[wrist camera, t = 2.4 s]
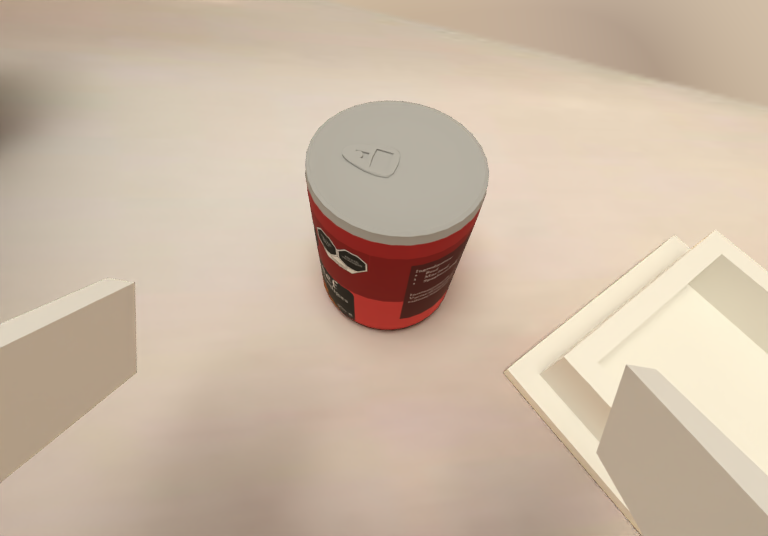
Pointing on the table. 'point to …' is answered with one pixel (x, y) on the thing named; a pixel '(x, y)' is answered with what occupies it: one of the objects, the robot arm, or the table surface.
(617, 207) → the table surface
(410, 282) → the canned food
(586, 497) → the table surface
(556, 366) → the white square tray
